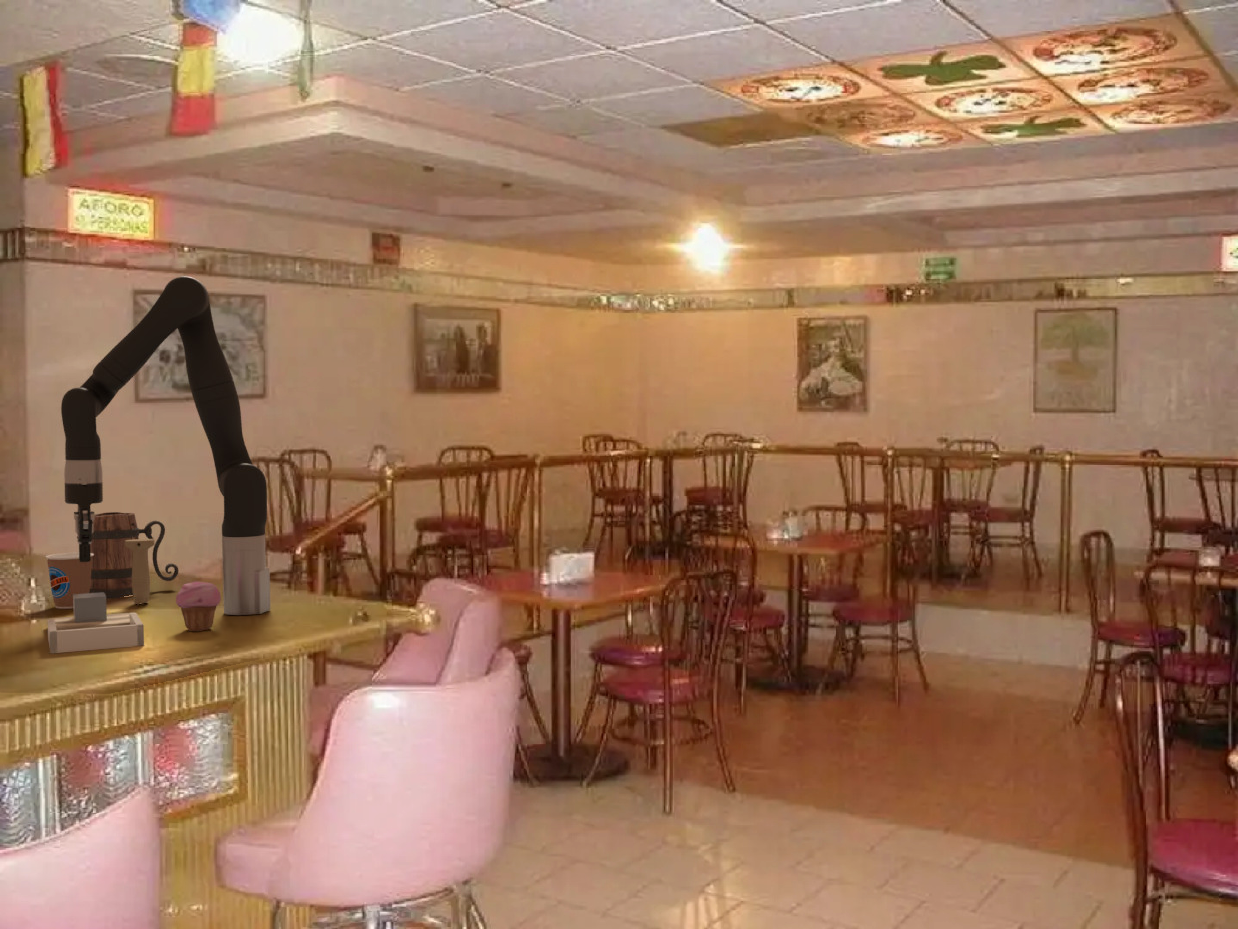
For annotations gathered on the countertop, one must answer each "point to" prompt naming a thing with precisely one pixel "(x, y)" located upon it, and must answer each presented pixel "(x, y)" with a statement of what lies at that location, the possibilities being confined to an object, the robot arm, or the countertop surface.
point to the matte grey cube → (89, 607)
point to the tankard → (119, 553)
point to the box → (96, 637)
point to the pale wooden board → (112, 620)
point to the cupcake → (198, 604)
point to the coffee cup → (68, 577)
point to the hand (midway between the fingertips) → (84, 561)
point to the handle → (140, 568)
